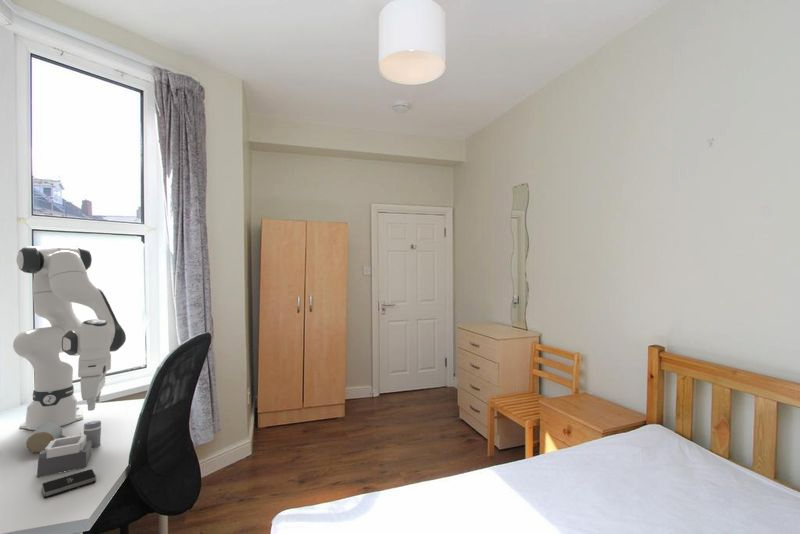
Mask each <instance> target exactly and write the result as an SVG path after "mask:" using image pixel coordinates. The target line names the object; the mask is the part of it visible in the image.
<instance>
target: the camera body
mask: <svg viewBox="0 0 800 534" xmlns="http://www.w3.org/2000/svg"><path fill="white" fill-rule="evenodd" d="M91 443H92V440H91V441H86V435H85V434H84V433H83V434H78V435H72V436H66V437H64V438H58V439H54V441H51V442H50V443H49V444H48V446H47V447H46V448H45V450H43V451H41V452H40V453H39V454H38V460H37V475H36V477H37V478H41V477H40V476H42V477H46V476H45V475H47V476H51V474H52V475H56V474H55V473H57V474H60V473H59V472H62V473H65V472H64V471H67V472H69V471H68V470H71V471H74V470H73V469H76V470H80V469H79V468H81V469H85V468H84V467H86V468H87V466H86V465H88V463H89V461H90V459H91V457H92V449H91Z"/></svg>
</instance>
